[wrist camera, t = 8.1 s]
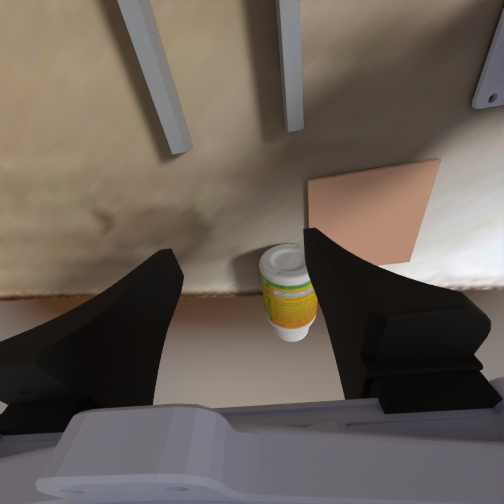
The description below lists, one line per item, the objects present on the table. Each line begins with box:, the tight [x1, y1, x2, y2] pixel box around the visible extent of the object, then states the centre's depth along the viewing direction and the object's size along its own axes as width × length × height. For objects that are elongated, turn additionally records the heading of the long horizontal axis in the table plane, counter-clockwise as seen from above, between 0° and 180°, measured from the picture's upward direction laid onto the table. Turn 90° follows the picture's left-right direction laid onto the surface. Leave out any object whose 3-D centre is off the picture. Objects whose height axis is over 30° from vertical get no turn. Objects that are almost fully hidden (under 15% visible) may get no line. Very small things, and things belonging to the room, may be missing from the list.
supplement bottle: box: [259, 244, 317, 342], centre depth 22 cm, size 5×5×10 cm
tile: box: [307, 158, 441, 266], centre depth 20 cm, size 10×10×1 cm
